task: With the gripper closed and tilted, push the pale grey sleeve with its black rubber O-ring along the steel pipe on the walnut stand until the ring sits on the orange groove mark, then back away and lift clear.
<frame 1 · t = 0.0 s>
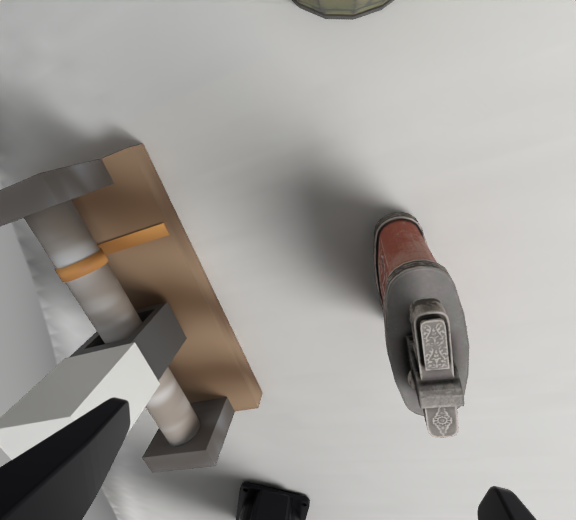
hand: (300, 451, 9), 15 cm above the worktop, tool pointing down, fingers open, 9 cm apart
lighter: (402, 272, 22), on the worktop
sleeve: (109, 374, 20), point 7 cm above the worktop, slide at 0.0 cm
pipe stand: (157, 300, 26), on the worktop
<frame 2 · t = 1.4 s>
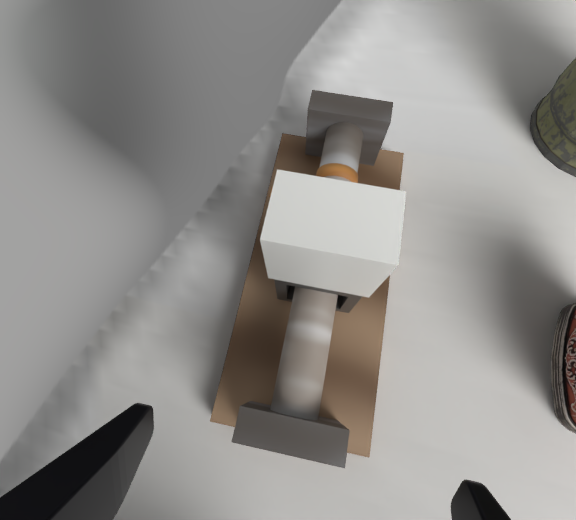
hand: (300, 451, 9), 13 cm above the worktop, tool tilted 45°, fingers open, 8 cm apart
sleeve: (323, 257, 17), point 7 cm above the worktop, slide at 0.0 cm
pipe stand: (317, 276, 24), on the worktop
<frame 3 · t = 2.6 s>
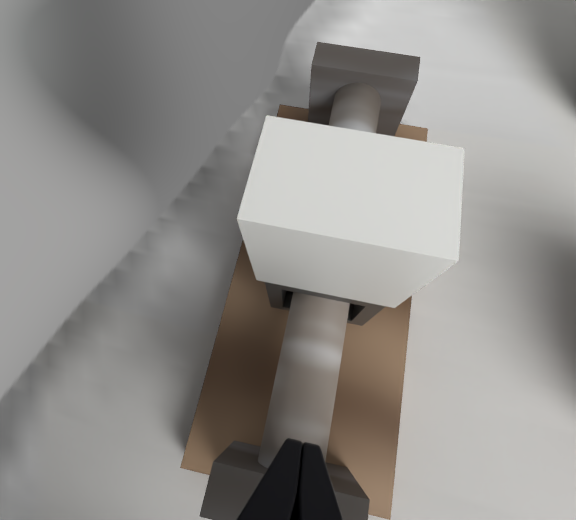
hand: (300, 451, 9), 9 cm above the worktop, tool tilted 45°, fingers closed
sleeve: (332, 252, 13), point 7 cm above the worktop, slide at 0.0 cm
pipe stand: (321, 278, 19), on the worktop
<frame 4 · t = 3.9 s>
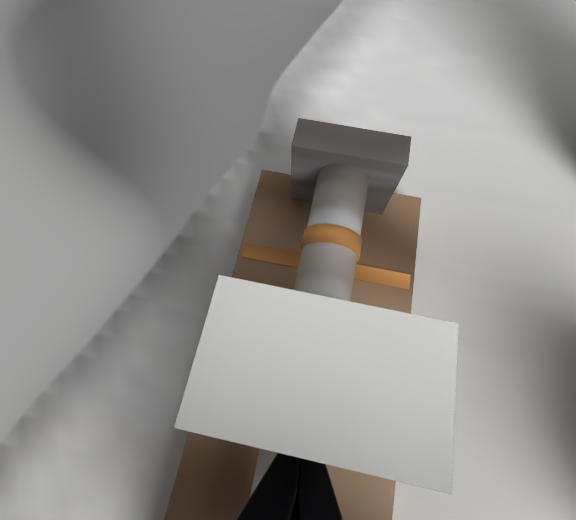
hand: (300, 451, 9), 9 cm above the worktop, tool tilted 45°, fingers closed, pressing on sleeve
sleeve: (309, 380, 11), point 7 cm above the worktop, slide at 0.2 cm, touching gripper
pipe stand: (305, 367, 18), on the worktop
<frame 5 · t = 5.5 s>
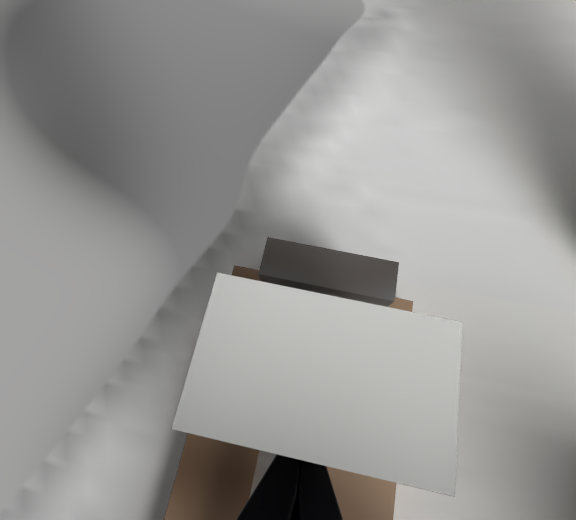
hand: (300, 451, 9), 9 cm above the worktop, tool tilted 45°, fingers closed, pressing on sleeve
sleeve: (310, 378, 11), point 7 cm above the worktop, slide at 6.3 cm, touching gripper
pipe stand: (279, 505, 16), on the worktop
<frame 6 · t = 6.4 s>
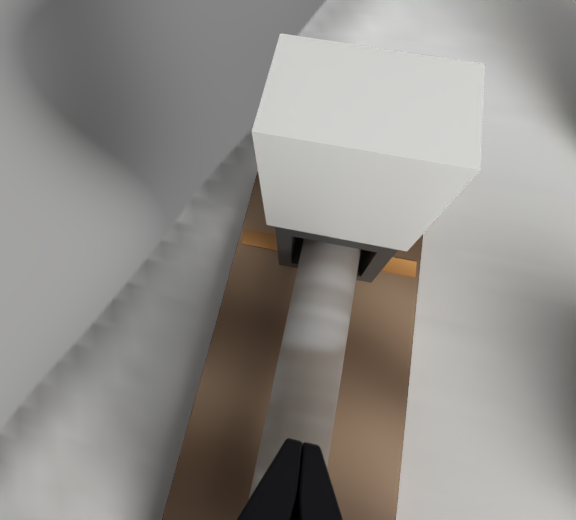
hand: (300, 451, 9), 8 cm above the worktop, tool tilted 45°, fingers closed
sleeve: (343, 196, 13), point 7 cm above the worktop, slide at 6.3 cm
pipe stand: (307, 357, 17), on the worktop
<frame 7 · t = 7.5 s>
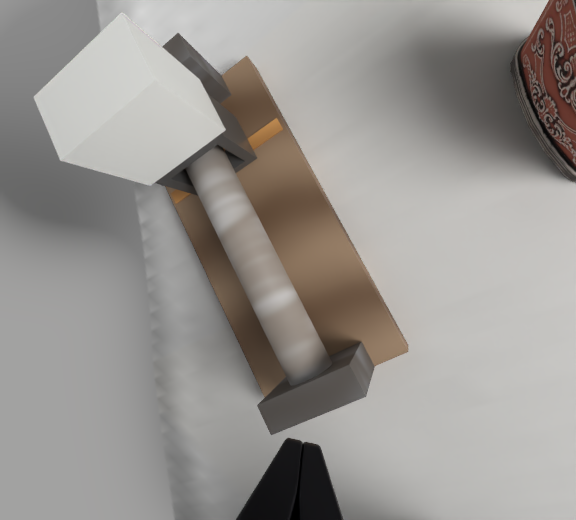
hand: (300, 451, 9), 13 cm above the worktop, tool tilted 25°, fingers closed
lighter: (562, 111, 18), on the worktop
sleeve: (170, 132, 17), point 7 cm above the worktop, slide at 6.3 cm
pipe stand: (267, 233, 23), on the worktop
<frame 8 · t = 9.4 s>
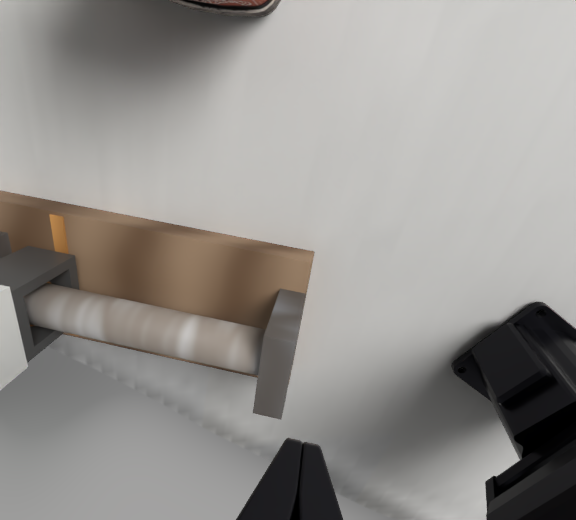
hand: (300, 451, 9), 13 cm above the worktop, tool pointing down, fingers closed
pipe stand: (153, 284, 23), on the worktop
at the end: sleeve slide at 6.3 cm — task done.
